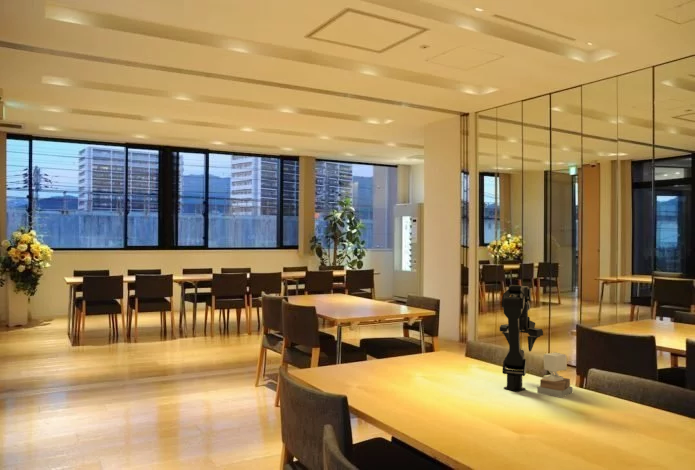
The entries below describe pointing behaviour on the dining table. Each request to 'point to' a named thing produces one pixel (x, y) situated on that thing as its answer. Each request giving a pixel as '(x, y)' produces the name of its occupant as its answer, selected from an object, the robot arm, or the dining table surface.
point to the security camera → (554, 365)
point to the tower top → (555, 384)
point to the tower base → (555, 391)
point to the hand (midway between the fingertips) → (520, 349)
